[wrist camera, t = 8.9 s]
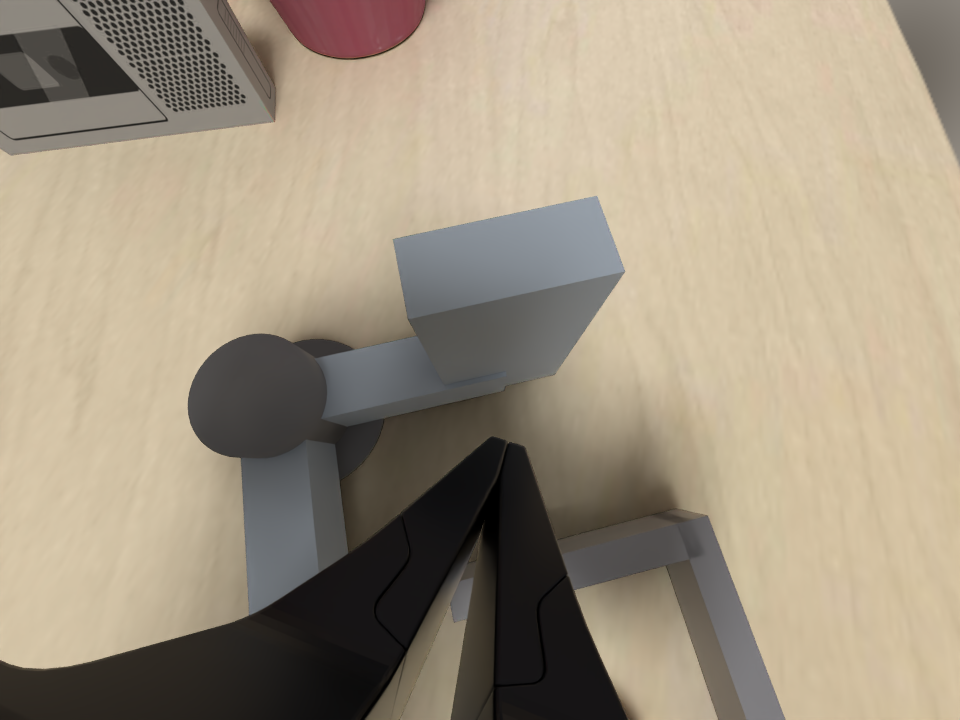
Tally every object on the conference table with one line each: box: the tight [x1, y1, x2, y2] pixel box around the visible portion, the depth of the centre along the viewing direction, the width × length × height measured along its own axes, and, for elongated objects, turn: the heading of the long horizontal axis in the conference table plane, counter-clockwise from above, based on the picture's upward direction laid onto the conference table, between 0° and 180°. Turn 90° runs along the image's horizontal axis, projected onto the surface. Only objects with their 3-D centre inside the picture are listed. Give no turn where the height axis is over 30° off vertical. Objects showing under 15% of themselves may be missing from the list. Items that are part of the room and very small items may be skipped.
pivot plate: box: [293, 339, 384, 481], centre depth 18 cm, size 7×7×1 cm
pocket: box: [450, 509, 785, 720], centre depth 14 cm, size 10×11×2 cm
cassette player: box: [0, 0, 276, 155], centre depth 18 cm, size 16×3×10 cm, turn 98°
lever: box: [188, 196, 625, 615], centre depth 11 cm, size 17×14×10 cm
